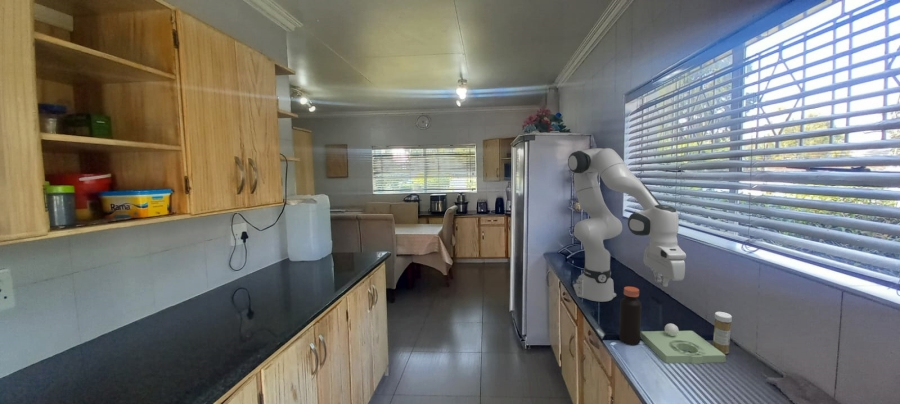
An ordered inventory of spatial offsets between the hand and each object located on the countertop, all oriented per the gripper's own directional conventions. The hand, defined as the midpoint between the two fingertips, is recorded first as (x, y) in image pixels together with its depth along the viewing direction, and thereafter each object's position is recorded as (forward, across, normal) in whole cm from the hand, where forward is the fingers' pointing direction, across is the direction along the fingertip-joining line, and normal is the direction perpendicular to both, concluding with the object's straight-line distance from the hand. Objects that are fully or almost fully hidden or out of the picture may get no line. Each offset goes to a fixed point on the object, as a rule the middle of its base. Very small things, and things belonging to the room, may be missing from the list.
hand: (661, 283), depth 129 cm
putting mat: (+19, +12, 0) cm, 23 cm away
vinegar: (+19, +7, -14) cm, 25 cm away
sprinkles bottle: (+19, +14, +13) cm, 27 cm away
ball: (+14, +8, 0) cm, 16 cm away
